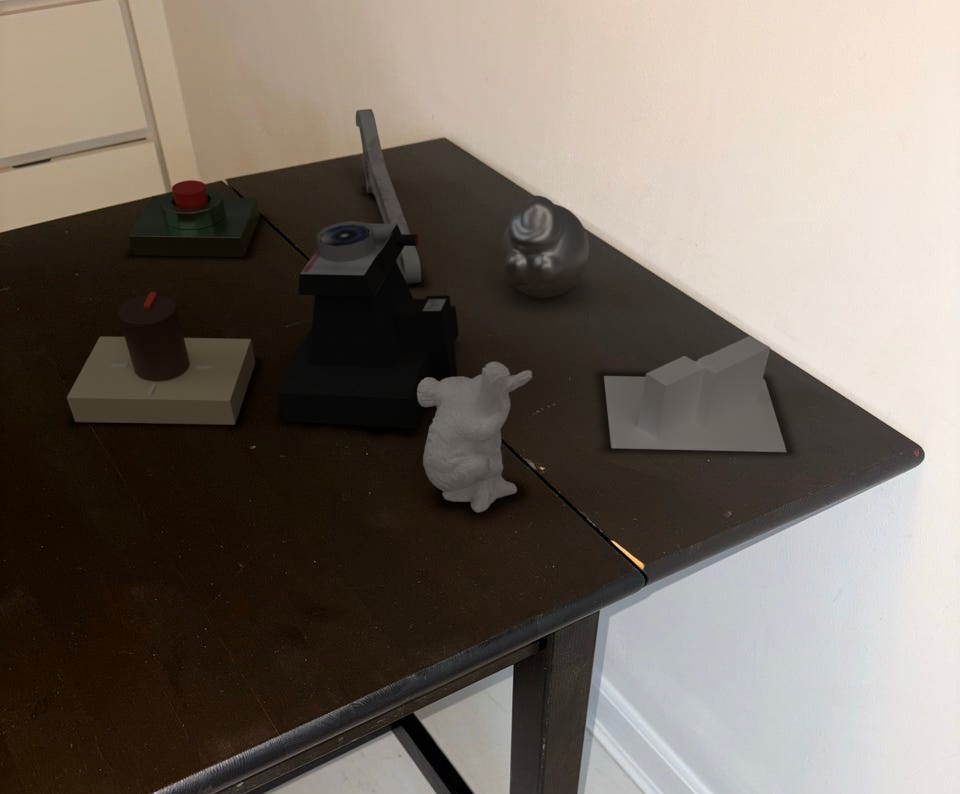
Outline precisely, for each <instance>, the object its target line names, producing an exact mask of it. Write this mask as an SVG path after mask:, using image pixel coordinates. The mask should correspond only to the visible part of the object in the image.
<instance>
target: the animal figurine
mask: <svg viewBox="0 0 960 794" xmlns="http://www.w3.org/2000/svg"><path fill="white" fill-rule="evenodd" d="M531 379H533V372H532V370H530V369H526V370H523V371H521V372H519V373H517V374H511V372H510V370H509V368H508V367H507V366H505V365H504V363H501V362H499V361H490V362H488V363H486V364H485V366H483V367H482V368H481V374H478V375H476V376H474V377H472V378H470V377H468V376H464V375H462V376H460V375H457V377H449V378H445V379H443V380H441V381H437V380H436V379H434V378H429V377H426V378H424V380H421V382H420V383H419V385H418V388H417V398H418V402H419V403H420V405H421V406H424V407H425V408H429V407H436V411H435V413H434V415H435V416H434V417H433V418H432V423H431V424H430V425H429V427H428V433H427V437H426V441H425V445H424V451H423V452H424V453H423V455H422V465H423V468H424V471H425V474H426V476H427V478H428V481H429V482H430V483H431V484H432V485H433V486H434V487H436V488H437V489H438V490H440V491H442V497H443V499H444V500H446V501H449V502H454V503H456V502H458V503H459V502H460V503H467V502H469V503H470V507H471V509H472V510H473V511H474V512H475V513H477V514H478V513H482V512H485V511H486V510H488V509H489V508H490V506H491V504H493V503H495V501H496V500H497V499H501V498H504V497H507V496H511V495H514V494H516V493H517V492H518V487H517V486H516V484H514V482H511V481H507V480H505V478H504V477H503V476H502V473H503V470H504V467H505V466H504V464H503V454H502V450H501V447H502V442H503V440H502V433H501V431H502V430H501V429H502V427H503V426H504V424H505V423H506V421H507V419H508V415H509V414H510V411H511V398H510V394H509V393H510V392H514V391H515V390H516V389H518V388H520V387H523V386H525V385H526V384H527V383H528V382H530V381H531Z"/></svg>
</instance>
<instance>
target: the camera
mask: <svg viewBox="0 0 960 794" xmlns="http://www.w3.org/2000/svg"><path fill="white" fill-rule="evenodd" d="M316 242H317V243H316V244H317V248H318V249H317V250H316V251H315V252H314V253H313V255H312V256H311V257H310V259H309V260H308V262H307V264H306V265H304V267H303V269H302V270H301V272H300V273H299V276H298V277H299V279H298V293H297V294H298V296H314V300H313V301H314V303H313V312H312V321H311V328H310V330H309V332H307V335H306V336H305V337H304V339H303V340H302V342H301V343H300V345H299V347H298V348H297V350H296V351H295V353H294V354H293V355H292V357H291V359H290V360H289V362H288V364H287V365H286V369H285V370H284V373H283V376H282V379H281V381H280V384H279V387H278V388H277V392H276V394H277V398H278V401H279V405H280V409H281V412H282V416H283V419H284V422H289V423H290V422H292V423H309V424H325V425H326V424H329V425H345V426H347V425H348V426H362V427H363V426H364V427H367V426H368V427H381V428H383V427H384V428H385V427H386V428H400V429H401V428H402V429H416V427H417V425H418V423H419V421H420V419H421V417H422V415H423V412H424V410H425V408H426V407H424V406H421V405H420V403H419V402H418V398H417V388H418V385H419V383H420V382H421V380H424V378H426V377H429V378H434V379H436V380H437V381H441V380H443V379H445V378H449V377H457V376H458V368H457V359H456V347H455V344H456V341H457V338H458V337H459V325H458V317H457V308H456V305H451V296H450V294H449V295H426V296H425V298H413V295H412V293H411V290H410V287H409V284H407V283H406V281H405V279H404V277H403V275H402V273H401V271H400V269H399V266H398V264H397V261H396V260H397V258H398V256H399V255H400V253H401V251H402V250H403V248H404V246H415V247H418V245H419V235H418V234H417V233H415V234H412V233H410V234H401V232H400V229H399V227H398V225H397V224H387V223H384V222H383V223H382V222H381V223H372V222H368V223H367V222H363V221H355V220H350V221H349V220H348V221H341V222H336V223H334V224H330V225H327V226H325V227H323V228H322V229H321V230H320V231H318V232H317V235H316Z"/></svg>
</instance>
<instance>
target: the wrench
mask: <svg viewBox="0 0 960 794" xmlns="http://www.w3.org/2000/svg"><path fill="white" fill-rule="evenodd" d="M355 124H356V125H355V126H356V127H358V130H359V135H360V140H361V147H362V148H361V149H362V154H361V161H362V165H363V171H364V175H365V185H366V193H367V194H371V193H372V195H374V197H375V200H376V204H377V206H378V209H379V212H380V215H381V219H382V221H383V223H387V224H397V225H398V227H399V229H400V232H401V234H411V232H410V229H409V226H408V223H407V221H406V219H405V216H404V212H403V210H402V206H401V204H400V202H399V199H398V196H397V194H396V190H395V188H394V185H393V183H392V179H391V176H390V173H389V171H388V169H387V166H386V162H385V158H384V153H383V150H382V146H381V141H380V137H379V132H378V127H377V123H376V117H375V113H374V111H373V109H372V108H367V109H358V110H356V112H355ZM420 261H421V260H420V256H419V253H418V251H417V248H416V246H404V248H403V250H402V251H401V253H400V255H399V256H398V258H397V260H396V262H397V264H398V266H399V269H400V271H401V273H402V275H403V277H404V279H405V281H406V283H407V285H412V284H413V285H414V284H421V282H422V267H421V262H420Z"/></svg>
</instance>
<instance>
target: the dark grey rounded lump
mask: <svg viewBox="0 0 960 794" xmlns="http://www.w3.org/2000/svg"><path fill="white" fill-rule="evenodd" d="M589 245H590V244H589V238H588V234H587V231H586V229H585V227H584V225H583V224H582V222H581V220H580V219H579V217H577V215H575V213H573V212H572V211H571V210H569V209H567V208H566V207H564V206H561V205H559V204H555V203H554V202H553V201H552V200H550V199H549V198H548V197H545V196H543V195H531V196H529V197H527V198H526V199H524V200H523V201H522V202H521V203H519V204H518V206H517V207H515V208H514V209H513V211H512V213H511V216H510V218H509V221H508V224H507V227H506V228H505V230H504V233H503V236H502V239H501V244H500V260H501V264H502V268H503V271H504V273H505V275H506V277H507V278H508V280H509V281H510V283H511V284H512V285H513V286H514V287H515V288H516V289H518V290H519V291H520V292H522V293H523V294H526V295H527V296H530V297H534V298H537V299H538V298H539V299H549V298H554V297H557V296H560V295H562V294H565V293H566V292H568V291H569V290H570V289H572V288H573V287H574V286H575V285H576V284H577V283H578V282H579V280H580V279H581V277H582V276H583V274H584V273H585V270H586V269H587V268H586V267H587V264H588V261H589V254H590V246H589Z"/></svg>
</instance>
